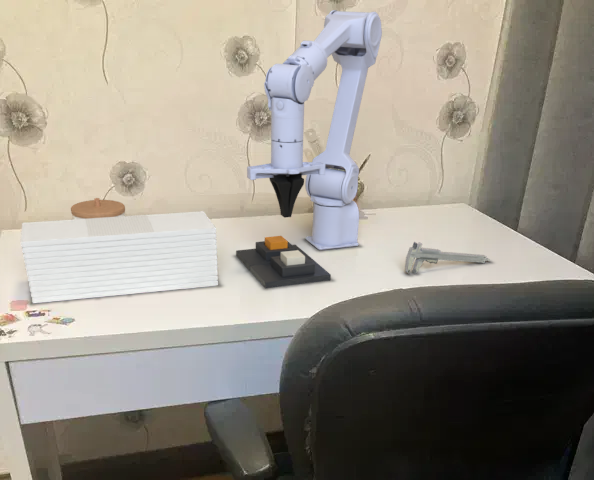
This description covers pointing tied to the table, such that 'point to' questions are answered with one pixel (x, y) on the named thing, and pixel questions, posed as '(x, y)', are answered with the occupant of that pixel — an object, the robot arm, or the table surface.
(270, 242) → the amber key
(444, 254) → the caliper
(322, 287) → the table surface
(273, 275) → the keypad
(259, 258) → the keypad
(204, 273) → the stack of papers
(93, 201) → the trinket box
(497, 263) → the table surface
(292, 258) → the white key
